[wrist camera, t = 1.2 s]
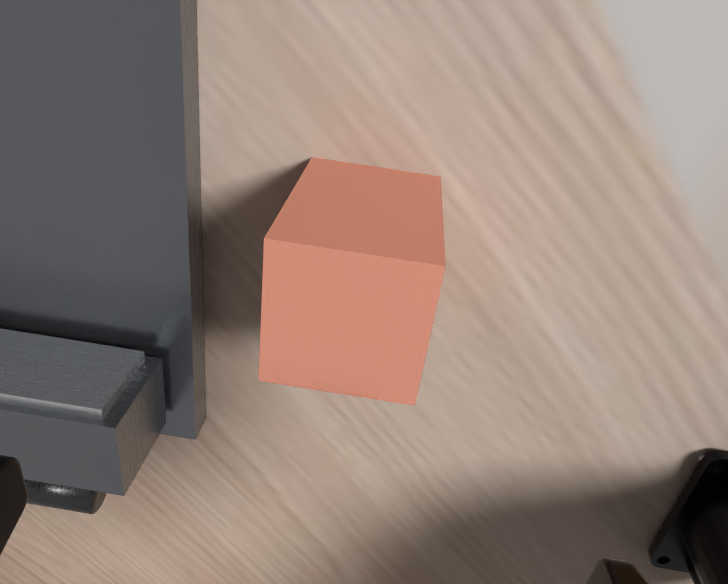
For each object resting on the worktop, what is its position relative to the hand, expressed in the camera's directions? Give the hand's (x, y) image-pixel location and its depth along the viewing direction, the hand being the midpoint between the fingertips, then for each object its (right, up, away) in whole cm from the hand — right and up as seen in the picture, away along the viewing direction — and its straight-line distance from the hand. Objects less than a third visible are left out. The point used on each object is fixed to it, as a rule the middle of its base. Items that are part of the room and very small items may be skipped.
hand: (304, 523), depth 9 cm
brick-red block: (+1, +6, +10) cm, 12 cm away
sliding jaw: (-11, 0, +13) cm, 17 cm away
